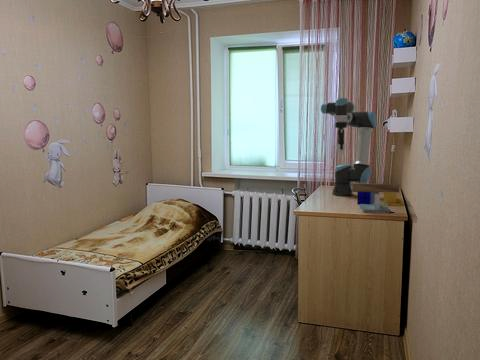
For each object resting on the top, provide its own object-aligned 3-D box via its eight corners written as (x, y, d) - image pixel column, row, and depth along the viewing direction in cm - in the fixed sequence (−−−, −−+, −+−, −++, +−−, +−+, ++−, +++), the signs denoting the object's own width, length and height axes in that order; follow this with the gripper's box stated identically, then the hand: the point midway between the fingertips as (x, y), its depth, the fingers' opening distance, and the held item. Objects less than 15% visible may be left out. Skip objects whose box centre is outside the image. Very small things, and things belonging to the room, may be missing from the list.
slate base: (360, 206, 269) (360, 204, 269) (385, 206, 266) (385, 204, 266) (363, 212, 251) (363, 209, 251) (390, 212, 249) (390, 210, 249)
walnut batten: (352, 190, 261) (352, 183, 261) (397, 191, 257) (397, 183, 256) (352, 191, 258) (352, 184, 257) (398, 192, 253) (399, 184, 252)
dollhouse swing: (389, 206, 269) (389, 192, 267) (381, 203, 278) (382, 190, 277) (403, 205, 270) (404, 192, 269) (396, 202, 280) (396, 189, 278)
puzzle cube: (357, 204, 275) (357, 190, 274) (359, 201, 285) (359, 187, 283) (372, 205, 271) (373, 190, 270) (374, 202, 280) (374, 188, 279)
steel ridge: (370, 204, 268) (370, 189, 266) (374, 204, 267) (375, 189, 266) (374, 209, 250) (374, 194, 249) (379, 210, 250) (380, 194, 248)
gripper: (334, 121, 281) (333, 152, 284) (336, 121, 257) (335, 155, 260) (345, 121, 280) (344, 152, 283) (348, 121, 256) (347, 155, 259)
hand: (340, 153), depth 271 cm, fingers open, 13 cm apart
